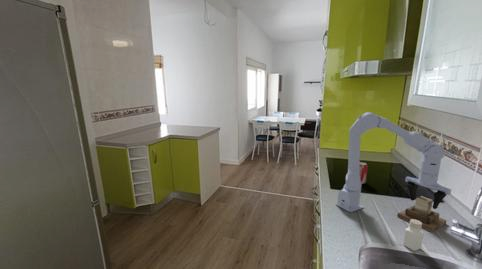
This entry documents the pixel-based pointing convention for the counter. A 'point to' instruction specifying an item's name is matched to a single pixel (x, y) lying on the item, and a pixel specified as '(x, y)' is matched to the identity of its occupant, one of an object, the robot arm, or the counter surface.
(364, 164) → the beverage can
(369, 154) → the counter surface
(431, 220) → the peg holder
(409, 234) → the salt shaker
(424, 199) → the birch peg
